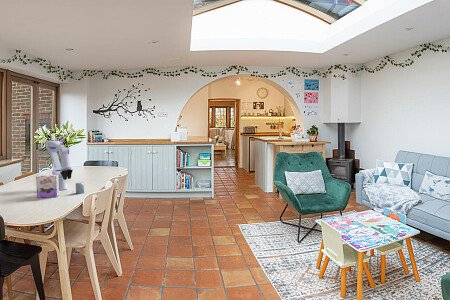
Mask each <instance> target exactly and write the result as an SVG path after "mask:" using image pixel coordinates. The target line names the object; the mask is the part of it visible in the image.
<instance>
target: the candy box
mask: <svg viewBox="0 0 450 300" xmlns="http://www.w3.org/2000/svg"><path fill="white" fill-rule="evenodd" d="M35 178H36V198H37V199H39V198H41V199H42V198H45V199H46V198H58V197H59V196H60V190H59V175H53V174H39V175H36V177H35Z"/></svg>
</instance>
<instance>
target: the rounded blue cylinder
mask: <svg viewBox="0 0 450 300" xmlns="http://www.w3.org/2000/svg"><path fill="white" fill-rule="evenodd" d="M75 194H76V195H83V194H85V182H75Z"/></svg>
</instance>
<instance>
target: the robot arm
mask: <svg viewBox="0 0 450 300" xmlns="http://www.w3.org/2000/svg"><path fill="white" fill-rule="evenodd" d="M45 148H46V151H47V152H48V153H49V155H50V158H51V160H52V163H53V167H54V168H53V169H52V171H51V172H52V174H51V175H59V191H65V190H67V188H66V181H67V180H71V179H72V174H73V170H74V169H72V167H71V165H70V158H69V157H70V156H69V154H70V148H69V147H65V146H64V145H63V144H61V142H60V141H59V140H46V141H45ZM57 152H58V153H57ZM58 154H59V156H58ZM59 158H60V160H59Z"/></svg>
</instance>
